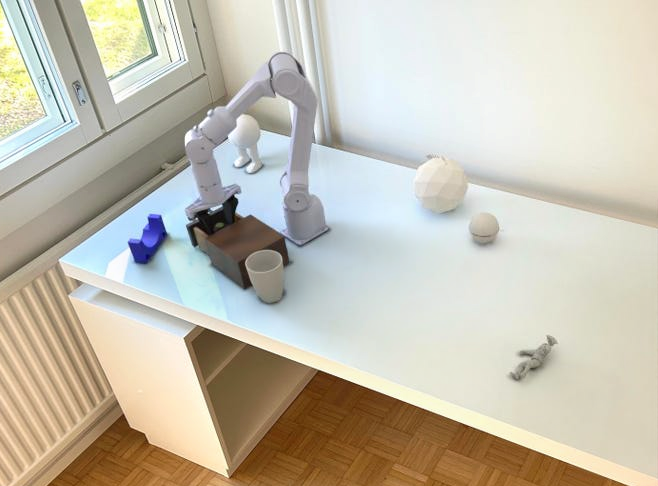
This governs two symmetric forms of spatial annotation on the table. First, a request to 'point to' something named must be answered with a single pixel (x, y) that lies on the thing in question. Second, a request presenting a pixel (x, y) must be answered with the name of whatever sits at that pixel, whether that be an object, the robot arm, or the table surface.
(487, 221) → the grey rounded domed piece
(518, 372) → the soldier figure
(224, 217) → the drawer
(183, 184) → the table surface
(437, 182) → the geodesic sphere
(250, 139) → the toy character
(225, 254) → the cabinet
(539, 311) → the table surface
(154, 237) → the cable clip
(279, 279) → the cup
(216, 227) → the mangosteen
